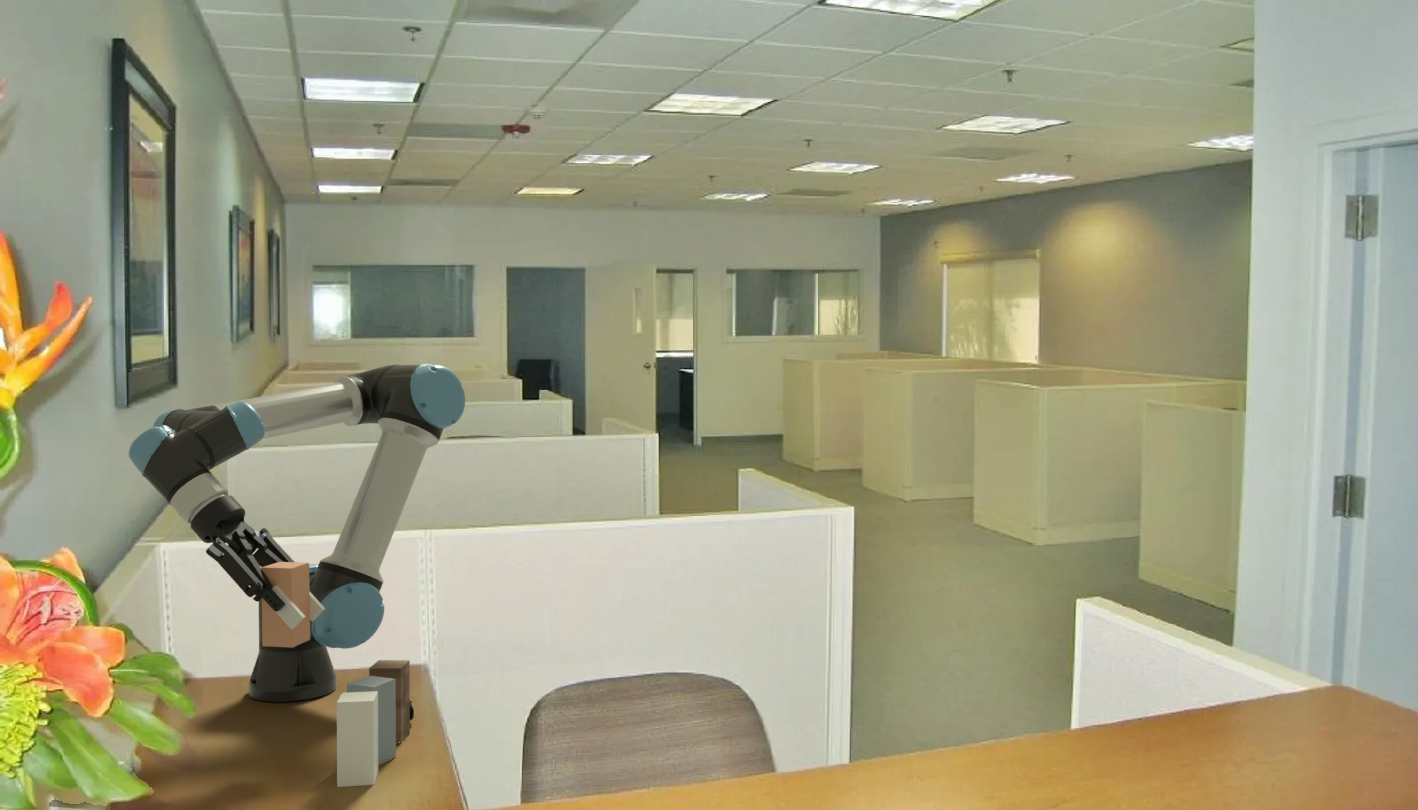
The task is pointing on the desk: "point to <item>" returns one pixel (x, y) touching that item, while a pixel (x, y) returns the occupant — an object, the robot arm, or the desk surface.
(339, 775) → the off-white block
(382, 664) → the walnut block
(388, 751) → the slate-grey block
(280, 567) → the terracotta block
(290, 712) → the desk surface
